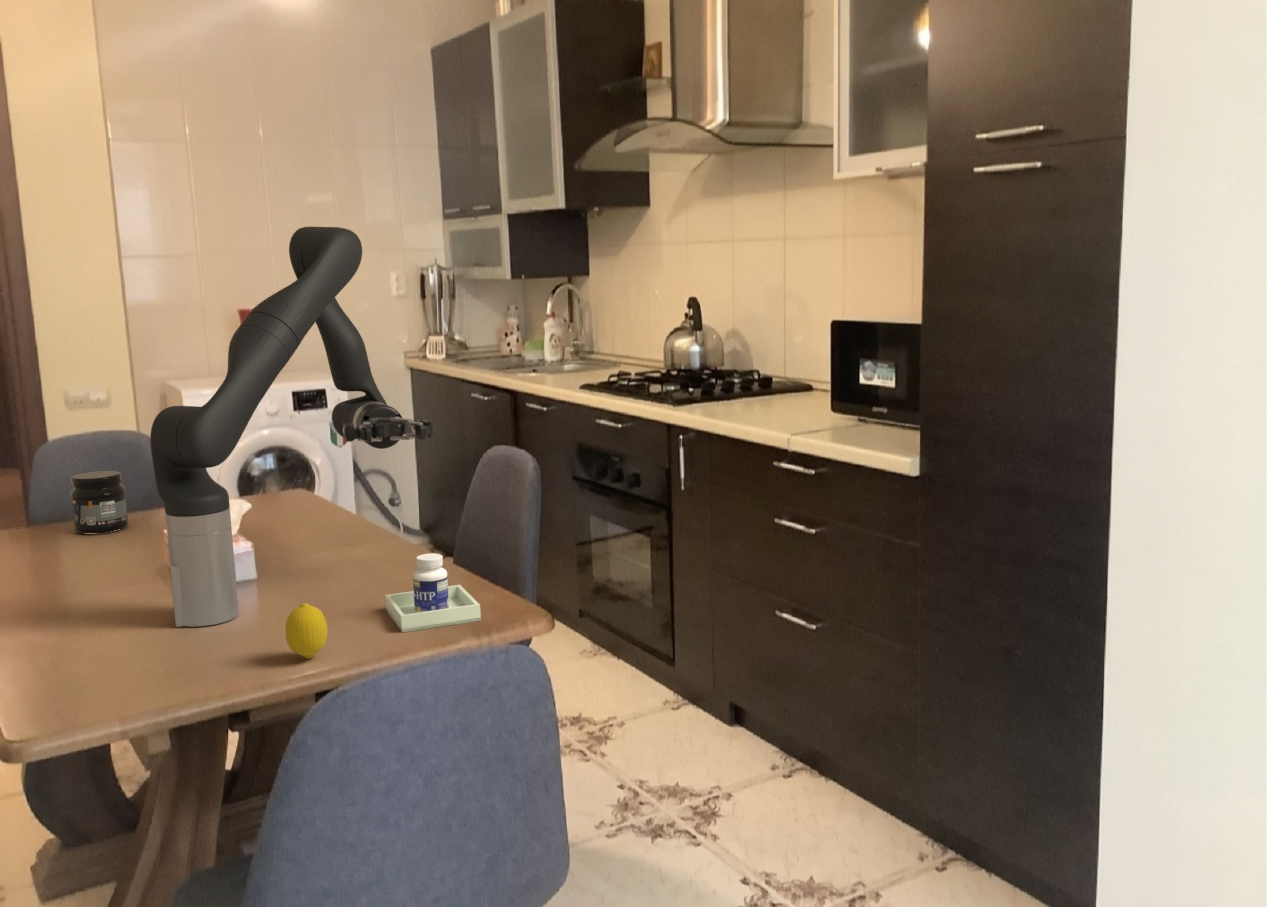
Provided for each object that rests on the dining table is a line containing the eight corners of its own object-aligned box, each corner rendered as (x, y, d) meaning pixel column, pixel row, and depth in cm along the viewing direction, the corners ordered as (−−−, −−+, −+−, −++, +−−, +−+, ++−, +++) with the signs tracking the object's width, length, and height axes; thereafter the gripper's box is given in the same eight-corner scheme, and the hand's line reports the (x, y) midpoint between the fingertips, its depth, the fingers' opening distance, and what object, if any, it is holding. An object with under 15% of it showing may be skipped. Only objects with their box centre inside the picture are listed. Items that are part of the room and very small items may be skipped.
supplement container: (95, 523, 233) (89, 470, 231) (139, 524, 232) (134, 470, 230) (63, 535, 223) (57, 479, 221) (109, 536, 221) (103, 479, 219)
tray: (402, 632, 157) (401, 616, 157) (386, 610, 168) (385, 594, 168) (480, 620, 162) (480, 604, 162) (460, 599, 173) (459, 584, 172)
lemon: (317, 667, 144) (313, 610, 143) (279, 664, 145) (275, 608, 144) (336, 652, 149) (332, 598, 148) (300, 650, 150) (296, 596, 149)
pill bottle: (408, 615, 164) (404, 559, 162) (426, 605, 168) (423, 551, 167) (437, 618, 162) (434, 562, 160) (455, 608, 166) (453, 553, 165)
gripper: (334, 404, 181) (350, 413, 166) (417, 401, 187) (439, 409, 172) (336, 448, 182) (351, 460, 167) (419, 443, 188) (441, 455, 173)
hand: (396, 434), depth 170 cm, fingers open, 8 cm apart
